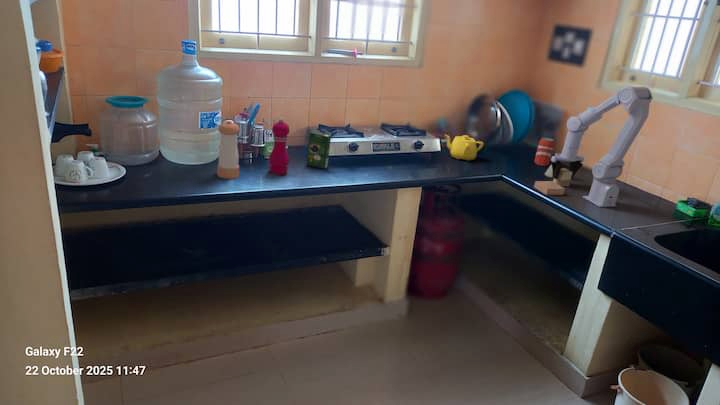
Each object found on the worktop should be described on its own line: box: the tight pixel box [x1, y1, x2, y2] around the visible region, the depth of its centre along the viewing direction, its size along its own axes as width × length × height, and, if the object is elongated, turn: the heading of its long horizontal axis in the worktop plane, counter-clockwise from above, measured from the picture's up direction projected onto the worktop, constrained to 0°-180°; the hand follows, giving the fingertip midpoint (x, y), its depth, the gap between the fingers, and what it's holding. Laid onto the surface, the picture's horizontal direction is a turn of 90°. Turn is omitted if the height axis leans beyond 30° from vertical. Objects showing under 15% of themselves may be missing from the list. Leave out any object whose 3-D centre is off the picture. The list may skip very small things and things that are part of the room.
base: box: [533, 180, 566, 196], centre depth 202 cm, size 8×8×2 cm
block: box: [552, 168, 573, 187], centre depth 211 cm, size 4×4×6 cm
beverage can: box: [533, 137, 555, 167], centre depth 233 cm, size 6×6×12 cm
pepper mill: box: [268, 117, 290, 176], centre depth 184 cm, size 7×7×20 cm
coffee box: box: [306, 130, 332, 170], centre depth 195 cm, size 8×3×13 cm, turn 71°
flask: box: [544, 152, 562, 179], centre depth 219 cm, size 7×7×10 cm
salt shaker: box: [216, 120, 241, 180], centre depth 175 cm, size 7×7×19 cm
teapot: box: [444, 134, 485, 162], centre depth 229 cm, size 14×13×10 cm
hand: (562, 178), depth 211 cm, fingers open, 7 cm apart
